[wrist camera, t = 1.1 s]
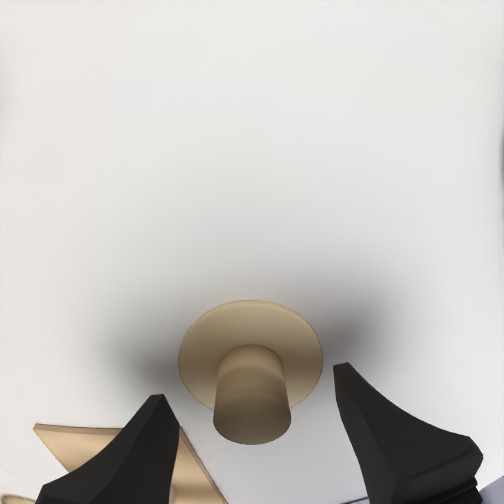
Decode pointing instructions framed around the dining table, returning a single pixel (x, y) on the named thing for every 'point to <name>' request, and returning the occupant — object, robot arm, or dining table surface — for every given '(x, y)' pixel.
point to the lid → (250, 367)
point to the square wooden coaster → (94, 440)
